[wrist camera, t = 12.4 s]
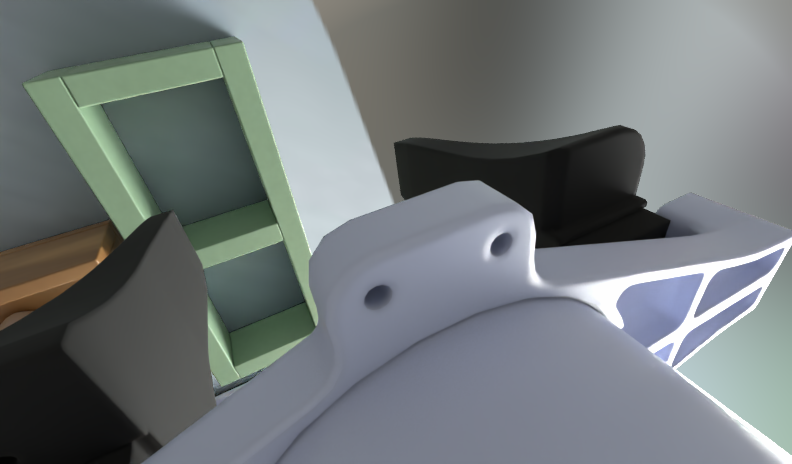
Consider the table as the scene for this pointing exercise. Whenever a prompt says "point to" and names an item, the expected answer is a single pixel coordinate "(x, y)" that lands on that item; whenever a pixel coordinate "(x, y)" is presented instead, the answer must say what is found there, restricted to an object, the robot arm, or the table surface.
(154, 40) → the table surface
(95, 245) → the open wooden box
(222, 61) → the green divided tray
